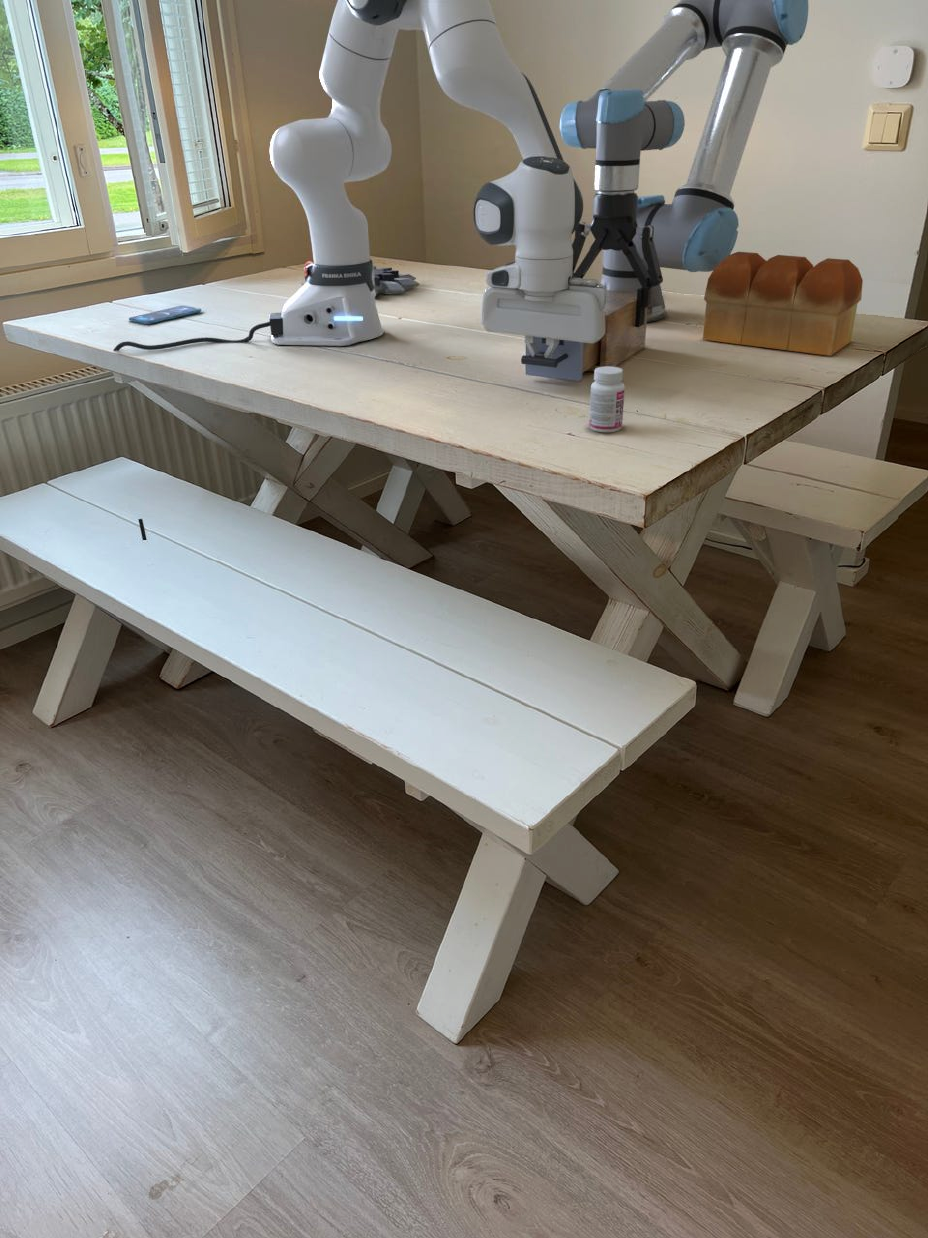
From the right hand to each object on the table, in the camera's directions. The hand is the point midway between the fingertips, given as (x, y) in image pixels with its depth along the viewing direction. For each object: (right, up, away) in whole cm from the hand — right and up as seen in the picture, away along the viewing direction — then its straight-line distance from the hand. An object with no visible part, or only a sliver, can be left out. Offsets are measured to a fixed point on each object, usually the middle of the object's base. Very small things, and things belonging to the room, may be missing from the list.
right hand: (609, 322), depth 173 cm
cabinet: (-2, -7, -1) cm, 7 cm away
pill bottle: (-6, -27, -36) cm, 46 cm away
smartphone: (-93, +13, +38) cm, 102 cm away
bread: (+32, -2, +5) cm, 33 cm away
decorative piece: (-52, +27, +59) cm, 84 cm away
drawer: (-9, -12, -12) cm, 19 cm away
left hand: (-14, -13, -21) cm, 28 cm away
